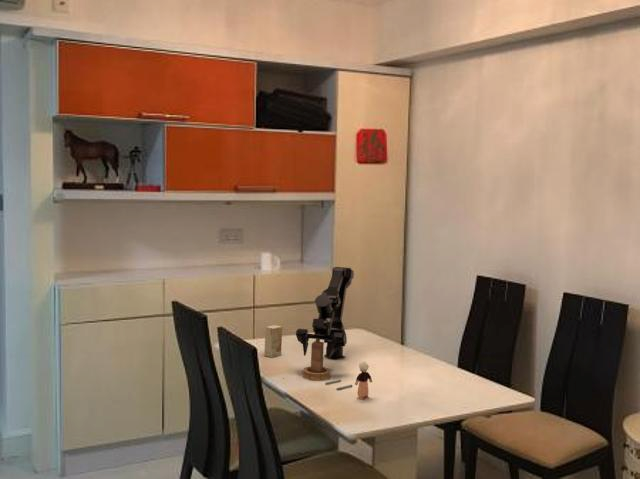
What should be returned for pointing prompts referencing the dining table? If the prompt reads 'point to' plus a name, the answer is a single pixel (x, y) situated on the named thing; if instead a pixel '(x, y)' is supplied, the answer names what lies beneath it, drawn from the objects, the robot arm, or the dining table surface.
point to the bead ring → (316, 374)
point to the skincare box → (273, 341)
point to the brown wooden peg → (317, 356)
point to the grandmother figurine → (363, 381)
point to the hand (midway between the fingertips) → (316, 356)
